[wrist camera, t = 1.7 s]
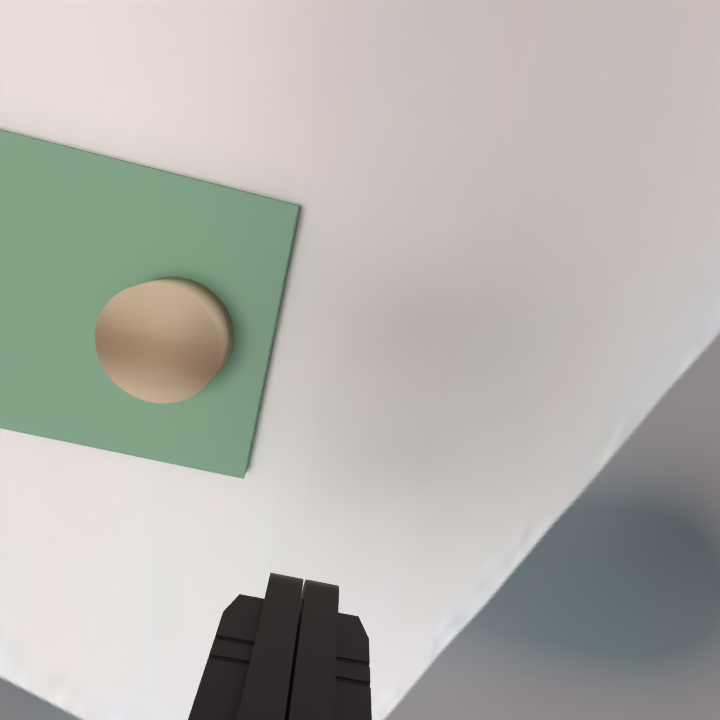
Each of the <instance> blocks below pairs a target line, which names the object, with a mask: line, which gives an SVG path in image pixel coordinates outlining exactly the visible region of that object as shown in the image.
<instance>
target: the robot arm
mask: <svg viewBox="0 0 720 720" xmlns="http://www.w3.org/2000/svg"><path fill="white" fill-rule="evenodd" d="M302 587H303V590H302ZM338 603H339V586H337V585H332V584H327V583H322V582H317V581H312V580H305V583H304V586H303V579H300V578H295V577H290V576H285V575H280V574H274V573H270V577H269V582H268V586H267V590H266V595H265V599H262V598H257V597H251V596H246V595H241V594H239V596H238V597H237V598H236V599H235V600H234V601H233V602H232V603H231V604H230V605H229V606H228V607H227V608H226V609H225V610H224V612H223V614H222V617H221V620H220V623H219V627H218V630H217V633H216V636H215V639H214V642H213V645H212V648H211V651H210V654H209V658H208V660H207V663H206V666H205V669H204V673H203V676H202V679H201V682H200V685H199V688H198V691H197V694H196V697H195V700H194V703H193V706H192V709H191V712H190V715H189V719H188V720H372V714H371V687H370V667H369V663H370V660H369V638H368V636H367V634H366V632H365V630H364V627H363V625H362V623H361V621H360V619H359V617H358V616H353V615H348V614H342V613H338Z"/></svg>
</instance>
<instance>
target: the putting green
mask: <svg viewBox="0 0 720 720" xmlns="http://www.w3.org/2000/svg"><path fill="white" fill-rule="evenodd" d="M299 209H300V206H298V205H295V204H291V203H287V202H283V201H279V200H275V199H271V198H267V197H263V196H259V195H255V194H251V193H247V192H243V191H239V190H235V189H231V188H227V187H224V186H220V185H216V184H212V183H208V182H204V181H200V180H196V179H192V178H188V177H184V176H180V175H176V174H172V173H168V172H164V171H160V170H157V169H153V168H149V167H145V166H141V165H137V164H133V163H129V162H125V161H121V160H117V159H113V158H109V157H105V156H101V155H97V154H93V153H90V152H86V151H82V150H78V149H74V148H70V147H66V146H62V145H58V144H54V143H50V142H46V141H42V140H38V139H34V138H30V137H26V136H22V135H19V134H15V133H11V132H7V131H3V130H0V428H2V429H7V430H12V431H17V432H22V433H26V434H31V435H36V436H41V437H46V438H50V439H55V440H60V441H65V442H70V443H74V444H79V445H84V446H89V447H94V448H99V449H103V450H108V451H113V452H118V453H123V454H127V455H132V456H137V457H142V458H147V459H152V460H156V461H161V462H166V463H171V464H176V465H180V466H185V467H190V468H195V469H200V470H205V471H209V472H214V473H219V474H224V475H229V476H233V477H238V478H244V476H245V473H246V471H247V467H248V462H249V457H250V452H251V447H252V442H253V437H254V432H255V427H256V422H257V417H258V412H259V407H260V402H261V397H262V393H263V388H264V383H265V378H266V373H267V368H268V363H269V358H270V353H271V348H272V343H273V338H274V333H275V328H276V323H277V318H278V313H279V308H280V303H281V298H282V293H283V289H284V284H285V279H286V274H287V269H288V264H289V259H290V254H291V249H292V244H293V239H294V234H295V229H296V224H297V219H298V214H299ZM163 277H182V278H187V279H190V280H193V281H196V282H198V283H200V284H202V285H204V286H205V287H207V288H208V289H209V290H211V291H212V292H213V293H214V294H215V295H216V296H217V297H218V298H219V299H220V300H221V302H222V303H223V304H224V306H225V307H226V309H227V311H228V313H229V316H230V318H231V322H232V326H233V346H232V349H231V353H230V355H229V357H228V359H227V361H226V363H225V364H224V365H223V366H222V368H221V369H220V370H219V371H218V372H217V374H216V375H215V376H214V377H213V378H212V379H211V380H210V382H209V383H208V384H207V385H206V386H205V387H204V388H203V389H202V390H201V391H200V392H198V393H197V394H195V395H194V396H192V397H190V398H188V399H185V400H182V401H179V402H174V403H153V402H148V401H144V400H141V399H139V398H136V397H134V396H132V395H130V394H128V393H127V392H125V391H124V390H123V389H121V388H120V387H119V386H118V385H116V384H115V383H114V382H113V381H112V379H111V378H110V377H109V376H108V374H107V373H106V372H105V370H104V368H103V367H102V365H101V363H100V360H99V358H98V355H97V351H96V346H95V329H96V324H97V321H98V318H99V315H100V313H101V311H102V309H103V308H104V307H105V305H106V304H107V303H108V302H109V301H110V300H111V299H112V298H113V297H114V296H115V295H117V294H118V293H120V292H121V291H123V290H125V289H127V288H130V287H133V286H136V285H139V284H142V283H145V282H149V281H152V280H155V279H159V278H163Z"/></svg>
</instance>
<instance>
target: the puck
mask: <svg viewBox="0 0 720 720" xmlns="http://www.w3.org/2000/svg"><path fill="white" fill-rule="evenodd" d="M95 346H96V351H97V355H98V358H99V360H100V363H101V365H102V367H103V368H104V370H105V372H106V373H107V374H108V376H109V377H110V378H111V379H112V381H113V382H114V383H115V384H116V385H118V386H119V387H120V388H121V389H123V390H124V391H125V392H127V393H128V394H130V395H132V396H134V397H136V398H139V399H141V400H144V401H148V402H153V403H174V402H179V401H182V400H185V399H188V398H190V397H192V396H194V395H195V394H197V393H198V392H200V391H201V390H202V389H203V388H204V387H205V386H206V385H207V384H208V383H209V382H210V380H211V379H212V378H213V377H214V376H215V375H216V374H217V372H218V371H219V370H220V369H221V368H222V366H223V365H224V364H225V363H226V361H227V359H228V357H229V355H230V353H231V349H232V346H233V326H232V322H231V318H230V316H229V313H228V311H227V309H226V307H225V306H224V304H223V303H222V302H221V300H220V299H219V298H218V297H217V296H216V295H215V294H214V293H213V292H212V291H211V290H209V289H208V288H207V287H205V286H204V285H202V284H200V283H198V282H196V281H193V280H190V279H187V278H182V277H163V278H159V279H155V280H152V281H149V282H145V283H142V284H139V285H136V286H133V287H130V288H127V289H125V290H123V291H121V292H120V293H118V294H117V295H115V296H114V297H113V298H112V299H111V300H110V301H109V302H108V303H107V304H106V305H105V307H104V308H103V309H102V311H101V313H100V315H99V318H98V321H97V324H96V329H95Z"/></svg>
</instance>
